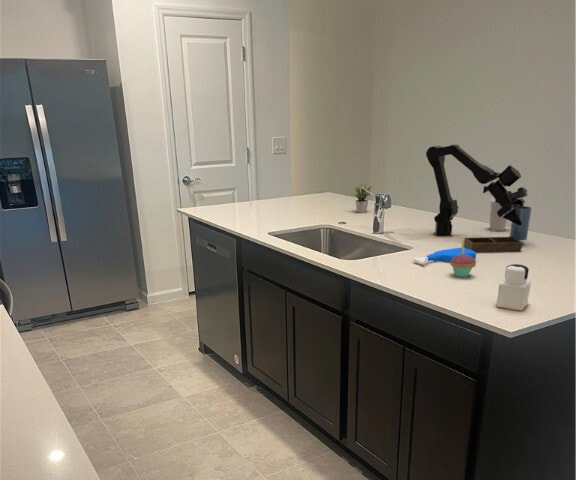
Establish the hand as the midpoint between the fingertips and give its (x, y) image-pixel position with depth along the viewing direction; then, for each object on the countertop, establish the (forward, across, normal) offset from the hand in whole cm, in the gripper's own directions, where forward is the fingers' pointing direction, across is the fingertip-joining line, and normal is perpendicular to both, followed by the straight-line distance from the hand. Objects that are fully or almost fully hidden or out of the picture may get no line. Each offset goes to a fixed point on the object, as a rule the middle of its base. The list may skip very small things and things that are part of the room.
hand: (523, 223), depth 227 cm
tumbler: (+4, 0, +6) cm, 7 cm away
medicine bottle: (+21, -79, -9) cm, 83 cm away
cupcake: (+5, -58, +8) cm, 58 cm away
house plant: (-61, +31, +74) cm, 101 cm away
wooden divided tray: (+1, -15, +11) cm, 19 cm away
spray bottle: (-5, -43, +18) cm, 46 cm away
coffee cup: (-6, +24, +19) cm, 31 cm away
